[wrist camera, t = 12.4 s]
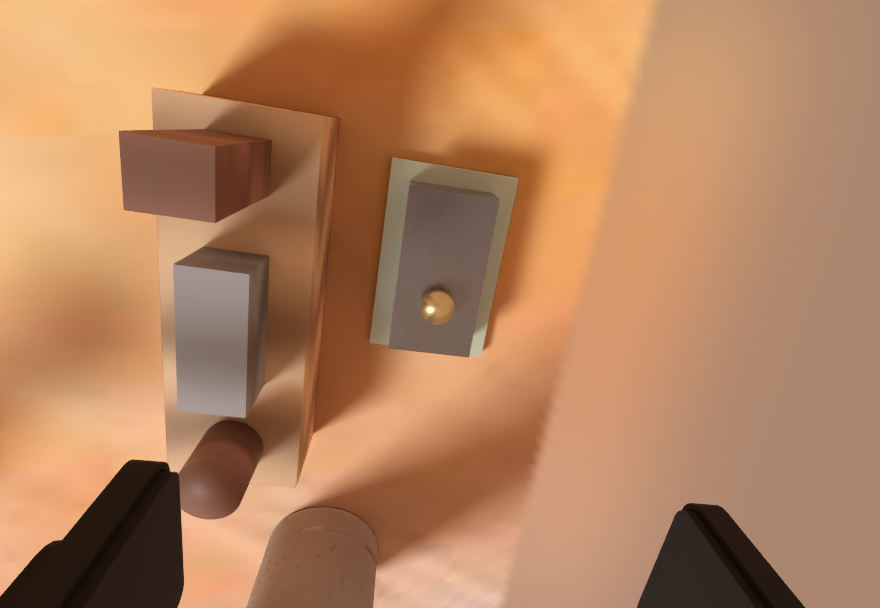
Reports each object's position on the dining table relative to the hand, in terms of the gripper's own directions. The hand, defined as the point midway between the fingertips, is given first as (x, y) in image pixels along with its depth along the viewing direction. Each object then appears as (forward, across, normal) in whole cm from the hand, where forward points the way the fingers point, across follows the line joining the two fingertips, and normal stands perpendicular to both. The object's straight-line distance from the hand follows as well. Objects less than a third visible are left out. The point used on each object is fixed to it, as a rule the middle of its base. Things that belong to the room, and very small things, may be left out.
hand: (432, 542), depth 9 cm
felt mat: (+20, -2, 0) cm, 20 cm away
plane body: (+20, +8, +3) cm, 22 cm away
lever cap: (+20, -1, 0) cm, 20 cm away
